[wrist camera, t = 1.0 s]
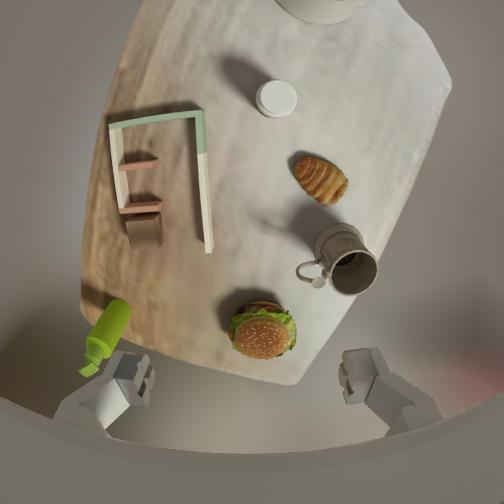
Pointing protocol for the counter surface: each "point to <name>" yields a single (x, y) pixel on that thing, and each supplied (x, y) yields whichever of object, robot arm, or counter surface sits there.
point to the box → (122, 167)
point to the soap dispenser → (105, 335)
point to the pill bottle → (275, 99)
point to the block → (145, 231)
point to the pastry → (321, 180)
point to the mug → (332, 250)
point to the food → (262, 330)
